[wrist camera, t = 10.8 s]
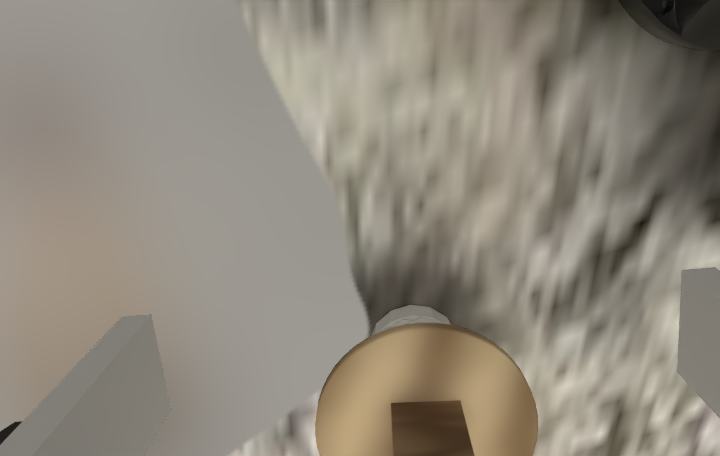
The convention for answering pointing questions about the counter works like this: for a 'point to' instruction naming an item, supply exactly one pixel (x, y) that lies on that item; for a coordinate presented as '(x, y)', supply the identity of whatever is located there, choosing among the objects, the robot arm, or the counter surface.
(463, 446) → the lid
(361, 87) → the counter surface
